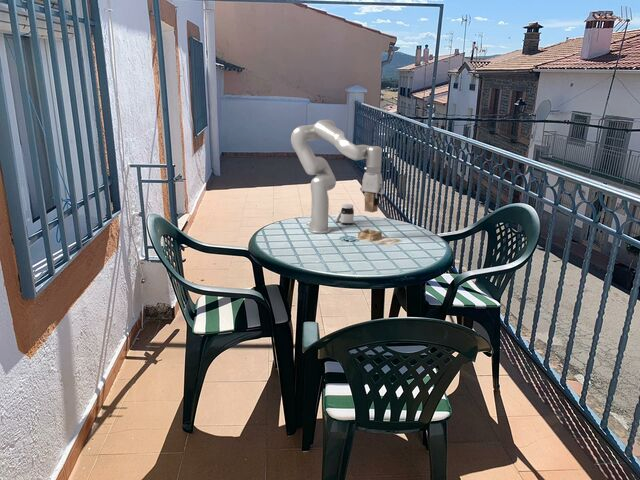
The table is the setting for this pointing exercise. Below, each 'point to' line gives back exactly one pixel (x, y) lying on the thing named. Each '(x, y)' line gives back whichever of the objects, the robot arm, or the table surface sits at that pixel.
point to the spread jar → (346, 215)
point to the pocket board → (376, 237)
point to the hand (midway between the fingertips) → (371, 204)
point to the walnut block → (370, 202)
